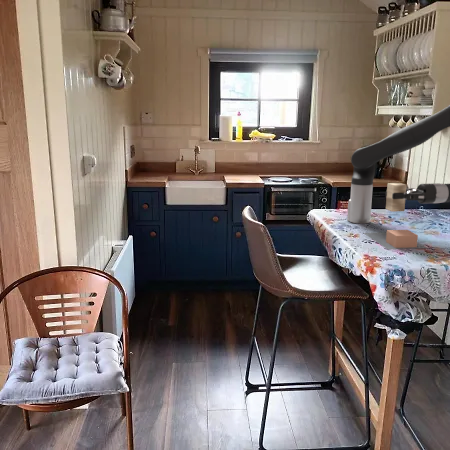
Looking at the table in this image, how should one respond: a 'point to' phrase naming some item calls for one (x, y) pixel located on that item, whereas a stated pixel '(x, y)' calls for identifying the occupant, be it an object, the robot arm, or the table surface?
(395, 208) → the pillar
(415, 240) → the base block
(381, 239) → the build mat
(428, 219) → the table surface
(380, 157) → the robot arm
